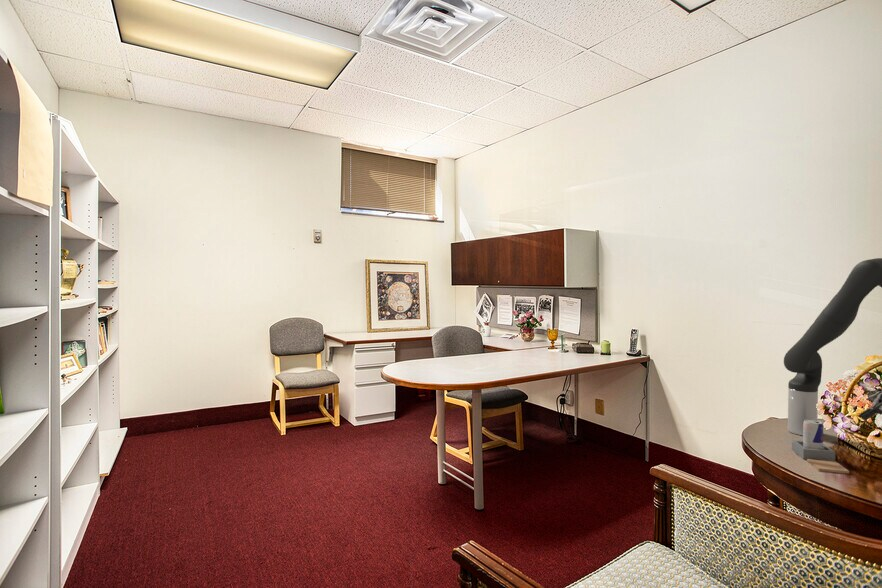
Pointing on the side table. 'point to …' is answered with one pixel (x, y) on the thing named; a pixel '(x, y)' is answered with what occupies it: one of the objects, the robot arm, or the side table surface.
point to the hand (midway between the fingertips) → (858, 414)
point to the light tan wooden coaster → (827, 466)
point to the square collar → (813, 452)
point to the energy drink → (813, 434)
